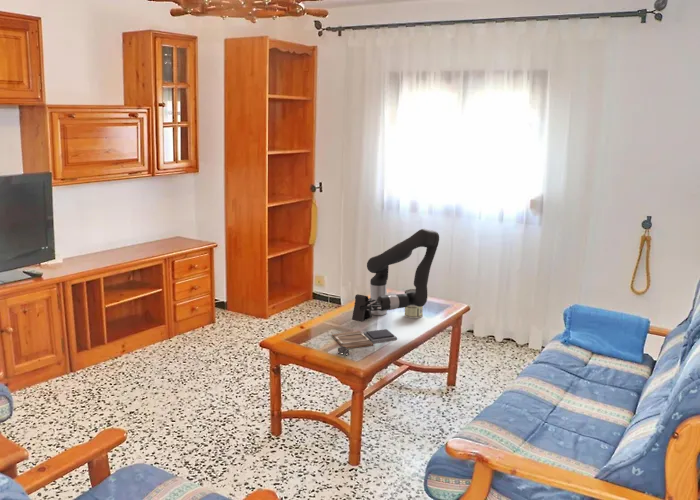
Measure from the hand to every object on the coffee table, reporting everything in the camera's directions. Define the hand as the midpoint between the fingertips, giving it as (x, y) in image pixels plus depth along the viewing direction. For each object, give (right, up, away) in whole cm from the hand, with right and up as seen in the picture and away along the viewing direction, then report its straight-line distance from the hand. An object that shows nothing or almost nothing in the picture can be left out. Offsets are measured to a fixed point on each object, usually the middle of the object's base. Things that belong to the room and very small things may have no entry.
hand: (357, 306), depth 302 cm
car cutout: (-3, -22, -17) cm, 28 cm away
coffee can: (+32, -9, +43) cm, 54 cm away
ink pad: (+12, -16, +8) cm, 22 cm away
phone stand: (+3, -6, +2) cm, 7 cm away
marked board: (-2, -17, +3) cm, 18 cm away
